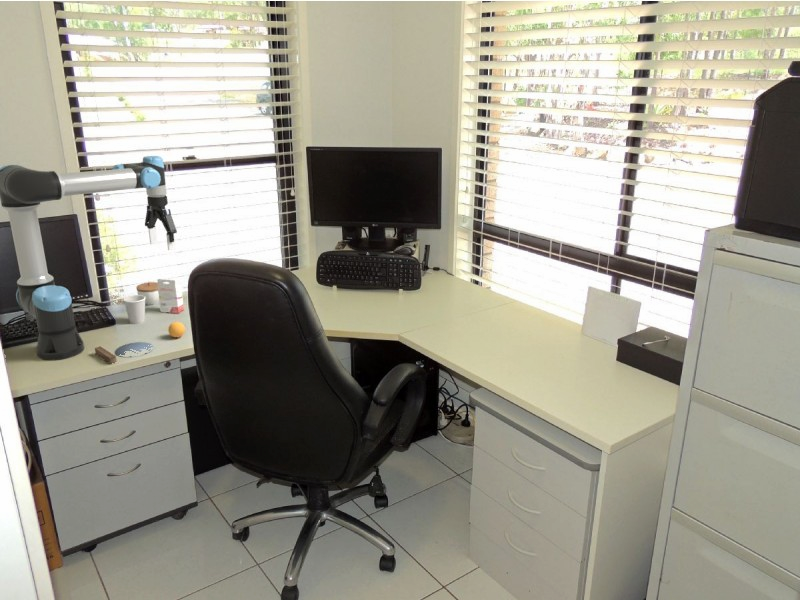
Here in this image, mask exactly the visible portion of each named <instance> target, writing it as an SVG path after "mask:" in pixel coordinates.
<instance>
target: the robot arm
mask: <svg viewBox="0 0 800 600" xmlns="http://www.w3.org/2000/svg"><path fill="white" fill-rule="evenodd" d="M135 189H145V191H146V196H147V198H146V200H147V205H146V215H145V220H144V221H145V222H144V227H147V229H148V235H149V244H150V245H155V244H158V239H157V230H156V223H157V220H159V221H160V222H161V224H162V225H163V227H164V229H165V231H166V234H165V235H166V244H167V250H168V251H173V250H175V249H176V246H175V235H174V234H177V232H178V230H177V228H176V225H175V222H174V219H173V216H172V214H171V212H172V211H171V209H170V208H169V209H168V208H166V206H168V204H169V203H168V196H167V185H166V173H165V164H164V158H163V157H162V156H159V155H147V156H143V157H142V162H133V163H132V162H131V163H120V164H119V163H118V164H115V165H114V166H113V167H112V169H102V170H91V171H77V172H65V173H58V172H57V171H55V170H51V171H50V170H49V171H44V170H43V171H42V170H35V169H31V168H27V167H24V166H22V165H19V164H7V165H3V166H2V167H0V203H1V208H2V209H5V210H6V211H7V213H8V219H9V224H10V229H11V232H12V233H11V234H12V238H13V243H14V244H13V245H14V248H15V254H16V259H17V263H18V270H19V274H20V277H19V279H17V281H16V285H17V290H16V293H15V296H16V298H15V299H16V302H17V303H18V306H19V307H20V309H22V310H23V311H24V312H27V313H28V314H30V315H31V316H32V317H34V318H35V320H36V325H37V330H38V337H37V338H38V339H37V344H36V349H35V351H36V356H37V357H38V358H39V359H41V360H45V361H46V360H47V361H57V360H58V361H59V360H64V359H69V358H72V357H75V356H77V355H79V354H81V353H82V352H84V350H85V344H84V340H83V339H82V336H81V335H80V333H79V332H78V330H77V328H76V321H75V315H74V309H73V303H72V296H71V293H70V291H69V289H68V288H66V287H64V286H61V285H55V279H54V276H53V275H51V274H49V273H48V272H49V271H48V266H47V261H46V260H47V259H46V256H45V248H44V244H43V239H42V233H41V228H40V223H39V222H40V221H39V216H38V215H39V214H38V211H37V209H38V208H39V207H40V206H41V203H43V202H50V201H51V202H52V201H58V200H62V199H63V198H64V197H68V196H76V195H77V196H78V195H87V194H95V193H97V194H98V193H105V192H106V193H107V192H115V191H124V190H135Z"/></svg>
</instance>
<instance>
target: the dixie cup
mask: <svg viewBox="0 0 800 600" xmlns="http://www.w3.org/2000/svg"><path fill="white" fill-rule="evenodd" d="M145 299H146V297H145V296H143V295H138V294H131V295H128V296H125V297H124V298H123V299H122V300H123V302H124V305H125V309H126V313H127V317H128V320H129V324H132V325H138V324H142V323H144V322H145V321H146V304H145Z"/></svg>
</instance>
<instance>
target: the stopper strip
mask: <svg viewBox="0 0 800 600" xmlns="http://www.w3.org/2000/svg"><path fill="white" fill-rule="evenodd" d="M94 351H95V356H97V355H98V356H97V357H99V358H100V357H101V359H102V360H103V359H104V361H105V362H106V361H107V363H108V362H109V363H110V365H113V364H112V363H114V364H116V363H115V362H117V355H116V354H115V355H114V353H112V352H110V351H109V350H107V349H105V348H103V347H102V346H98V347H94ZM109 363H108V364H109Z"/></svg>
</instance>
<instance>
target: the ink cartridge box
mask: <svg viewBox="0 0 800 600" xmlns="http://www.w3.org/2000/svg"><path fill="white" fill-rule="evenodd" d="M157 283H158V293H159V308H160V313H166V312H169V314H180V313H182V312H183V311H184V309H185V307H184V297H183V296H184V295H183V289H182V288H183V287H182V284H181V283H180V284H179V283H176V280H174V279H172V280H171V279H165V278H163V279H160V278H158V279H157ZM182 310H183V311H182ZM179 312H180V313H179Z"/></svg>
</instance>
